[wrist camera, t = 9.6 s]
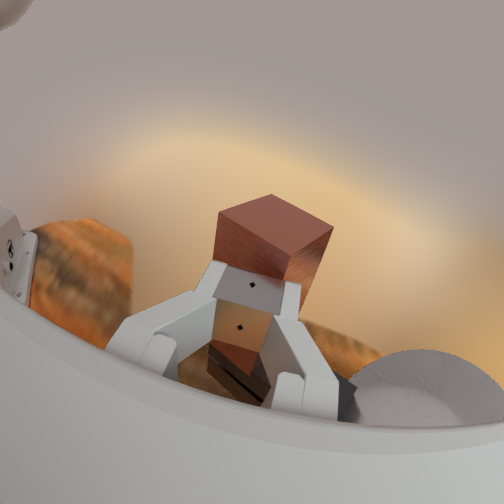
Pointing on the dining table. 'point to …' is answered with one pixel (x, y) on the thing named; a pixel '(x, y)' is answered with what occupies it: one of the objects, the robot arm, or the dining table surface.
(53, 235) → the dining table surface
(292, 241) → the lid
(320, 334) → the dining table surface
